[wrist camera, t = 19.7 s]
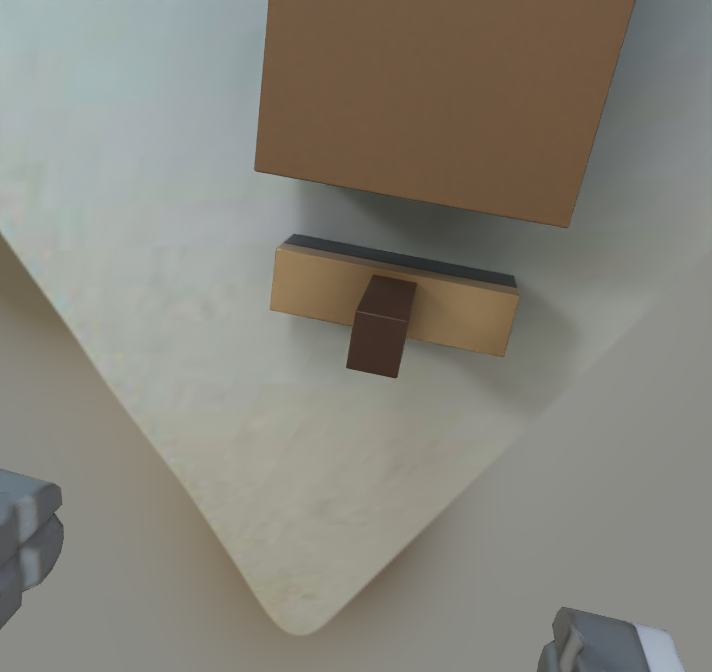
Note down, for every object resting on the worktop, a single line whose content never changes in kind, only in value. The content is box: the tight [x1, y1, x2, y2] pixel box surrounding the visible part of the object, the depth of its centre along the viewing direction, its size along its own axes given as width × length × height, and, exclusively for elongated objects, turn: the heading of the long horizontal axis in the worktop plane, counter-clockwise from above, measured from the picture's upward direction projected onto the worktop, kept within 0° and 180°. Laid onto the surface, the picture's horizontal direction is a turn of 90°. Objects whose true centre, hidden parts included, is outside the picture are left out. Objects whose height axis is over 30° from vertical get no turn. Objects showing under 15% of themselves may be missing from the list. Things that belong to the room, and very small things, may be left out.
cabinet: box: [254, 0, 635, 228], centre depth 23 cm, size 12×14×6 cm
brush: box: [270, 234, 520, 378], centre depth 26 cm, size 11×3×8 cm, turn 81°
